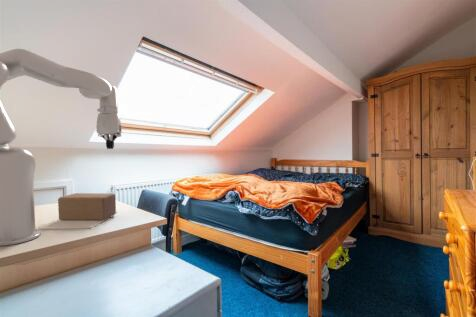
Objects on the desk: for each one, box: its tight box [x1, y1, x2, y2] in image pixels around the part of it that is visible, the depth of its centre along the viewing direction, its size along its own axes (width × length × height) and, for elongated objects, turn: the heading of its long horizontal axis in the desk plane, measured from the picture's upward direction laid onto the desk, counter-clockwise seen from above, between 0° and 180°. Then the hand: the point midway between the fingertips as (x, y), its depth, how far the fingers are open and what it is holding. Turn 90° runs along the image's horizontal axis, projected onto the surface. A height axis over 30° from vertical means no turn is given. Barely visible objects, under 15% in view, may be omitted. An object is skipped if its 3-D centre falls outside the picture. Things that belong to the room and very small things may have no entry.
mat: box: [37, 210, 118, 231], centre depth 100 cm, size 20×22×1 cm
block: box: [57, 192, 117, 221], centre depth 102 cm, size 10×10×20 cm
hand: (110, 148), depth 113 cm, fingers closed
